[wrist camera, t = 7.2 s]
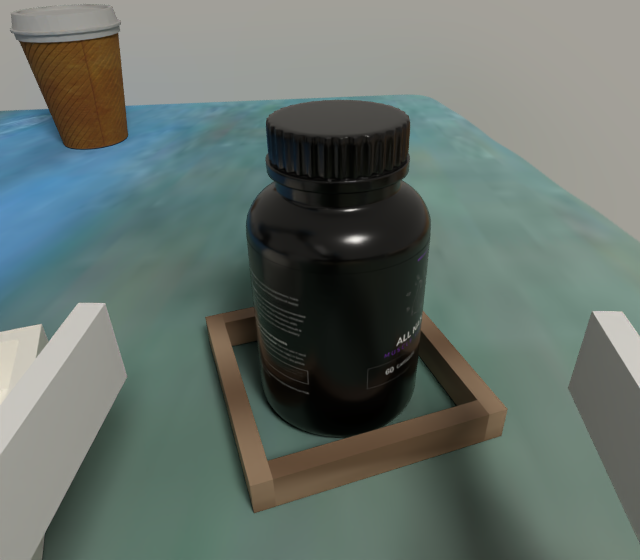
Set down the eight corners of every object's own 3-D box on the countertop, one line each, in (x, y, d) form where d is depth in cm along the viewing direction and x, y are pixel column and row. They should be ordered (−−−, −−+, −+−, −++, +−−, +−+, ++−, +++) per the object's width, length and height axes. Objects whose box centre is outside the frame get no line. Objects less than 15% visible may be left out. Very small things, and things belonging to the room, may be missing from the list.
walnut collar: (209, 340, 27) (205, 316, 26) (392, 300, 29) (393, 277, 29) (254, 513, 19) (249, 486, 18) (501, 435, 21) (507, 409, 20)
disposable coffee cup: (60, 128, 58) (24, 6, 52) (149, 122, 59) (125, 2, 53) (34, 158, 50) (-13, 18, 44) (137, 151, 51) (107, 13, 45)
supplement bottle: (437, 431, 22) (476, 140, 15) (268, 455, 21) (233, 159, 14) (392, 328, 27) (406, 85, 21) (258, 344, 26) (230, 96, 20)
